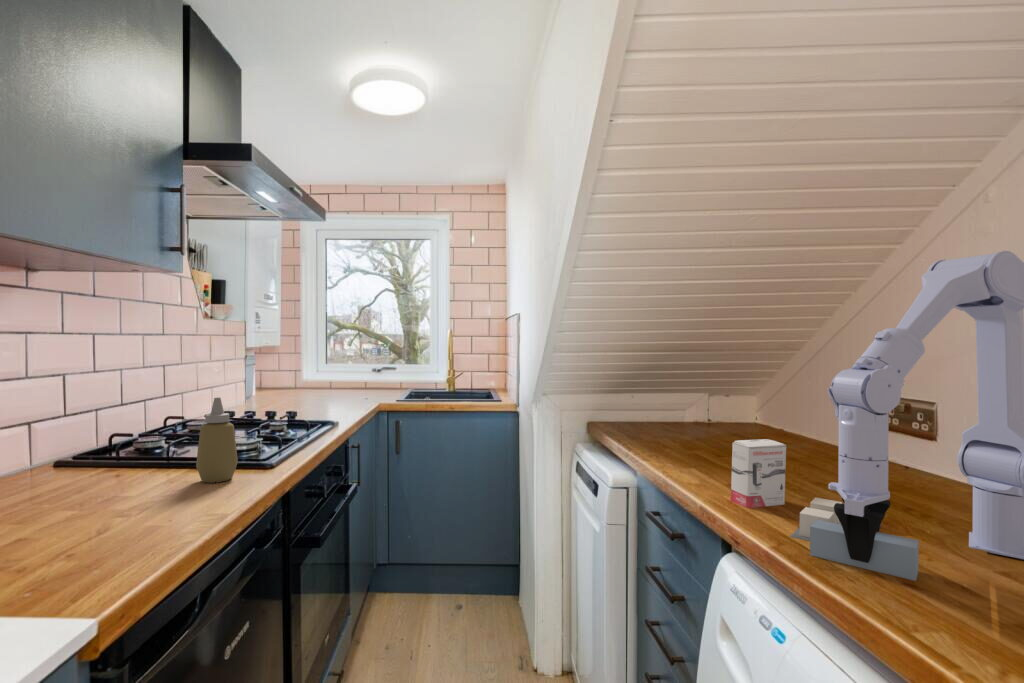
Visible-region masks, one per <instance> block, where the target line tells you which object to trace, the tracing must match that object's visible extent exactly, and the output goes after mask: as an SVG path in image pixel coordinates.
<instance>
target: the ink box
mask: <svg viewBox="0 0 1024 683" xmlns="http://www.w3.org/2000/svg"><path fill="white" fill-rule="evenodd" d="M731 452H732V455H731V480H730V481H731V482H730V483H731V484H730V485H731V486H730V488H731V489H730V502H732V503H734V504H737V505H739V506H742V507H744V508H747V509H751V508H752V509H753V508H754V509H755V508H763V507H773V506H774V507H775V506H782V505H785V504H786V503H785V499H786V498H785V497H786V496H785V495H786V469H787V468H786V466H787V465H786V464H787V463H786V462H787V461H786V460H787V444H784V443H782V442H779V441H778V440H774V439H768V438H765V439H763V438H762V439H743V440H742V439H741V440H734V442H732V451H731Z"/></svg>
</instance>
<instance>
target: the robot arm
mask: <svg viewBox="0 0 1024 683" xmlns="http://www.w3.org/2000/svg"><path fill="white" fill-rule="evenodd" d="M921 285H922V288H921V290H920V291H919V293H918V295H917V296H916V298H915V300H914V301H913V302H912V304H911V305H910V307H909V308H908V310H907V311H906V312H905V314H904V315H903V317H902V318H901V320H900V322H899V323H898V324H897V326H896V327H890V328H885V329H883V330H882V331H878V332H877V333H876V334H875V336H874V340H873V341H872V342H871V343H870V345H868V348H866V350H864V352H863V353H862V354H861V356H860V357H859V358H857V360H856V361H855V363H854V364H853V366H852V367H851V368H846V369H842V370H841V371H840V372H838V373H837V374H836V375H835V376H834V377H833V379H832V380H831V383H830V387H827V394H828V397H829V399H830V402H831V403H832V405H833V407H834V416H835V417H836V419H837V420H838V465H837V466H838V467H837V468H838V472H837V473H838V474H837V475H838V478H837V480H838V482H833V481H831V482H829V483H828V487H827V488H828V490H831V491H836V492H837V494H838V495H839V496H840V497H841V501H842V504H840V503H836V504H835V505H834V511H835V514H836V516H837V517H838V519H839V521H840V523H841V525H842V528H843V531H844V534H845V539H846V543H847V548H848V552H849V555H850V558H851V559H853V560H857V561H861V562H866V563H869V560H870V558H871V554H872V550H873V544H874V539H875V535H876V532H880V528H881V527H880V525H881V526H882V521H883V520H884V519H885V516H886V513H887V512H888V510H889V509H890V507H891V501H890V500H889V499H890V498H891V492H890V490H889V420H890V419H889V413H890V412H892V411H893V410H894V409H895V408H896V407H898V405H899V404H900V401H901V397H902V389H903V386H904V385H905V378H906V376H908V374H909V373H910V372H911V370H912V369H913V368H914V366H916V365H917V363H918V362H919V360H920V359H921V358H922V356H923V355H925V351H926V348H925V344H924V342H923V340H925V338H927V336H928V335H929V334H930V333H931V332H932V330H934V328H936V327H938V325H939V323H940V322H942V320H944V318H946V317H947V315H948V314H949V313H950V312H951V311H952V310H953V309H957V310H958V311H963V312H965V313H966V314H967V315H968V316H970V317H971V318H972V319H974V321H975V341H976V342H975V344H976V346H975V347H976V348H975V349H976V350H975V351H976V352H975V353H976V382H977V383H976V384H977V386H976V387H977V391H976V392H977V419H978V420H977V423H976V424H974V425H972V426H971V427H969V428H967V429H966V430H964V431H963V432H962V433H961V443H960V444H961V445H960V448H959V450H958V453H957V456H956V457H957V459H956V460H957V467H958V468H959V471H960V472H961V474H962V476H964V477H966V478H967V482H966V483H967V484H970V485H972V531H968V547H969V548H970V549H974V550H979V551H980V550H981V551H984V552H987V553H990V554H993V555H1000V556H1004V557H1011V558H1015V559H1020V560H1024V261H1023V260H1022V259H1020V257H1019V256H1018V255H1017V254H1015V253H1014V252H1012V251H1009V250H1001V251H997V252H994V253H988V254H981V255H980V254H979V255H972V256H967V257H966V256H965V257H960V258H953V259H952V258H951V259H939V260H936V261H934V262H932V263H931V264H930V265H929V267H928V268H927V271H926V272H924V273H923V274H922V275H921Z"/></svg>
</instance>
